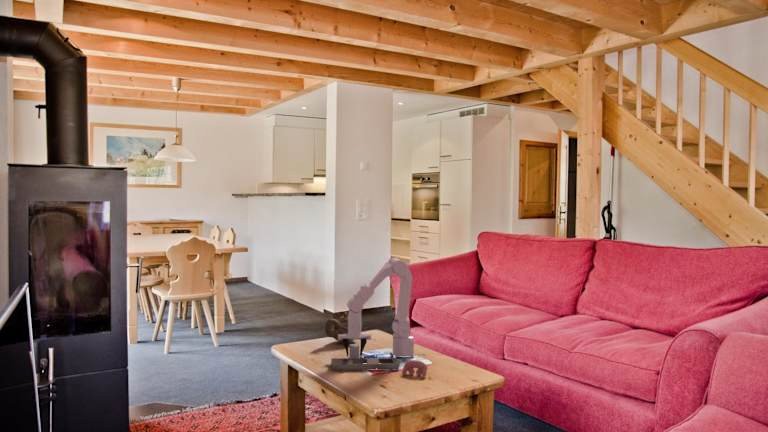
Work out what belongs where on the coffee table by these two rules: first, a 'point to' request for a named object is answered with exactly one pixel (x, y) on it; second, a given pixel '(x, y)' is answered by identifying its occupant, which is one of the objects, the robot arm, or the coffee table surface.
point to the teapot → (338, 327)
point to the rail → (357, 364)
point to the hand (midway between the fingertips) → (354, 355)
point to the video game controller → (415, 364)
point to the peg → (354, 350)
